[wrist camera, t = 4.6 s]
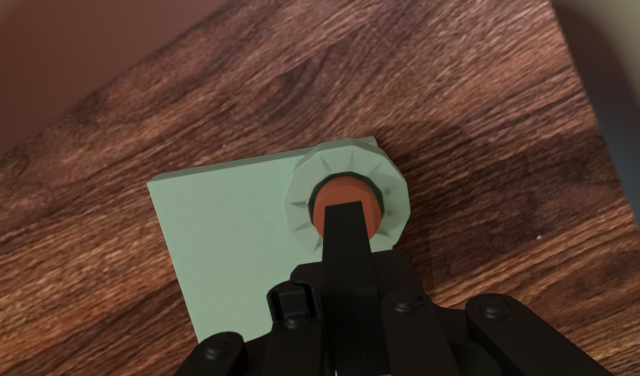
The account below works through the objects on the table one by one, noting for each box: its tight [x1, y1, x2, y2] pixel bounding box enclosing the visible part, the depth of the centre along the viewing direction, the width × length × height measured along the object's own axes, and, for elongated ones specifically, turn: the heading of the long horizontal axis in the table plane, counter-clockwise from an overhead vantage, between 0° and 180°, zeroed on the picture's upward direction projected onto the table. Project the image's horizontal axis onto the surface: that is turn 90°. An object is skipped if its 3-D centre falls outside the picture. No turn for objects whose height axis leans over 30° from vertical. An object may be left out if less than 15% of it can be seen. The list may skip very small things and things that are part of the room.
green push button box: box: [147, 136, 411, 376], centre depth 23 cm, size 14×13×4 cm
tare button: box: [314, 176, 381, 240], centre depth 19 cm, size 3×3×2 cm
